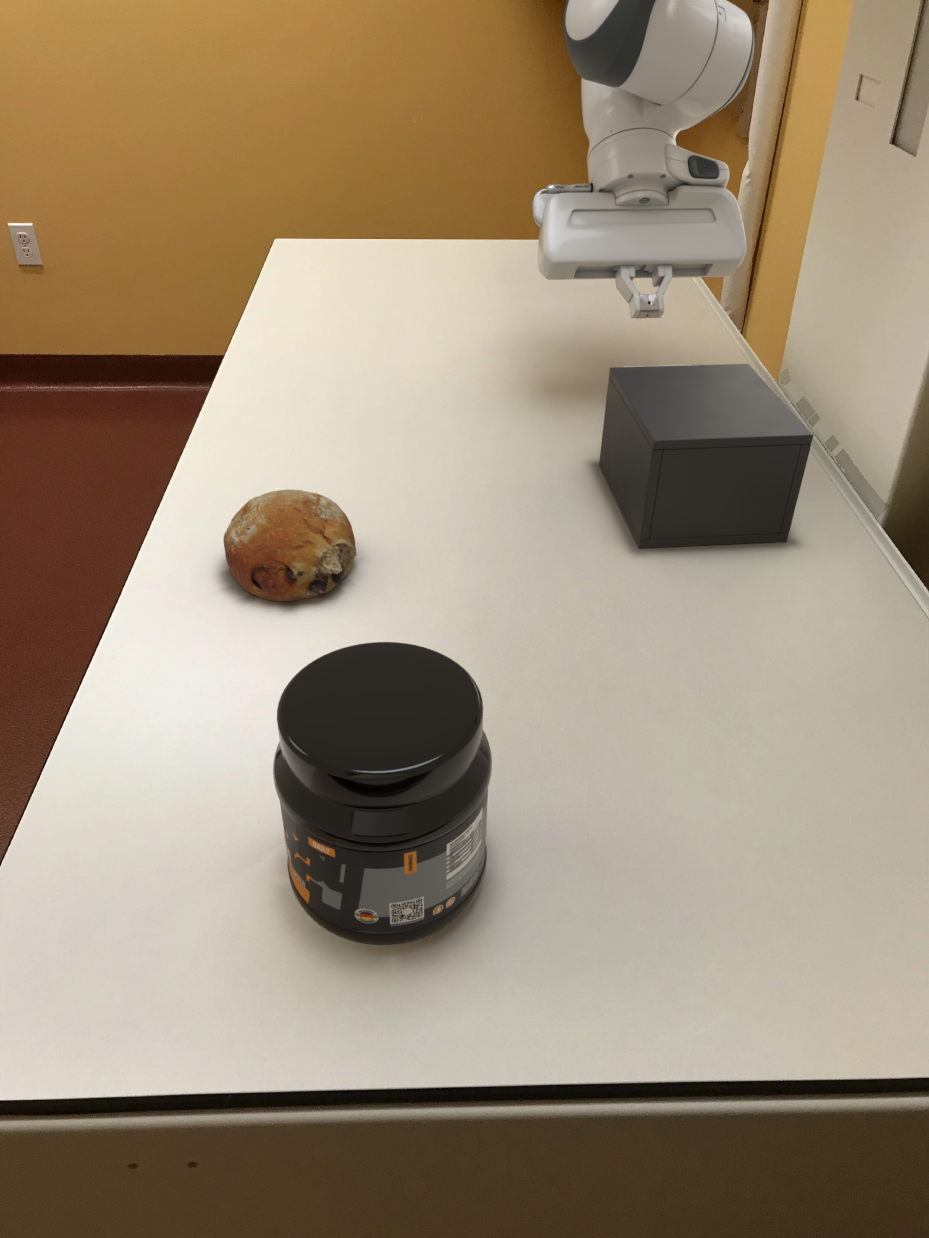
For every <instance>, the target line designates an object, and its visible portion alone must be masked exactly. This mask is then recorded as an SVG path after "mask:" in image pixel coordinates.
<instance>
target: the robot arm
mask: <svg viewBox="0 0 929 1238" xmlns="http://www.w3.org/2000/svg"><path fill="white" fill-rule="evenodd" d="M562 27H563V37H564V41H565V46H566V50H567V53H568V56H569V58H570V61H571V63H572V65H573V68H574V69H575V71H576V73H577V74H578V76H579V77H580V78H581V83H580V86H581V87H580V88H581V90H580V91H581V92H580V93H581V111H582V123H583V129H584V132H585V134H586V136H587V139H588V150H587V154H586V166H587V177H588V183H572V184H571V183H570V184H559V183H550V184H546V186H545V188H542V189H540V190H538V191H537V192H536V193H535V194H534V196H533V198H532V201H531V205H532V215H533V220H534V222H535V224H536V225H537V226H538V227H539V233H538V242H537V243H538V245H537V268H538V272H539V273H540V274H541V275H542V276H543V277H544V278H545V279H546V280H548V281H550V280H551V281H565V280H566V281H567V280H571V281H572V280H615V288H616V290H617V291H618V292H619V293H620V295H621V296H622V298H623V299H624V300H625V302H626V303H627V304H628V305H629V308H628V309H629V317H630V319H661V318H662V316H663V314H664V313H665V301H664V300H665V299H664V295H665V293H666V291H667V289H668V288H669V285H670V283H671V281H672V279H678V278H679V279H680V278H682V279H683V278H685V279H686V278H688V279H689V278H728V277H731V276H732V275H733V274H734V273H735V271H736V270H737V269H739V267H740V266H741V264H742V263H743V261H744V259H745V257H746V256H747V250H748V246H747V237H746V230H745V226H744V220H743V216H742V212H741V208H740V205H739V203H738V200H737V198H736V197H735V195H734V193H732V191H730V190H729V189H727V185H728V182H729V180H730V168H729V166H728V164H727V163H726V162H724V161H722V160H718V159H716V158H711V157H708V156H705V155H702V154H699V153H696V152H693V151H691V150H688V149H686V148H683V147H681V146H680V145H677V140H676V138H677V135H678V134H679V132H685V131H688V130H690V129H693V128H694V127H696V126H698V125H700V124H701V123H702V122H703V123H704V122H705V121H706V120H708V119H710V117H712V116H714V115H715V114H717V113H718V112H720V111H721V110H722V109H724V108H725V107H727V106H728V105H729V104H730V103H731V102H732V101H734V99H736V97H737V96H738V95H739V93H740V92H741V91H742V89H743V87H744V86H745V84H746V82H747V80H748V78H749V75H750V71H751V68H752V66H753V65H752V64H753V59H754V53H755V32H754V25H753V24H752V20H751V17H750V16H749V14H748V12H747V11H745V10H744V9H742V8H740V7H738V6H737V5H735V4H734V3H732V2H731V1H728V0H566V3H565V6H564V12H563V18H562ZM635 279H651V284H652V287H654V288H657V290H656V291H655V293H649V294H648V293H647V294H646V293H641V292H640V291H639V289H638V288H637V286H636V285H635V283H634V282H633V281H634V280H635Z"/></svg>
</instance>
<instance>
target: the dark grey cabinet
mask: <svg viewBox="0 0 929 1238" xmlns="http://www.w3.org/2000/svg"><path fill="white" fill-rule="evenodd" d="M686 365H687V366H656V365H650V366H651V367H623V366H619V367H617V366H616V367H614V366H613V367H610V368H609V369H608V378H607V379H608V381H607V388H606V398H605V407H604V416H603V425H602V436H601V444H600V452H599V453H600V454H599V455H600V456H599V463H598V467H599V469H600V471H601V473H602V474H603V477H604V479H605V481H606V484H607V485H608V487H609V489H610V491H611V494H612V495H613V498H614V500H615V503H616V504H617V506H618V508H619V510H620V513H621V515H622V517H623V519H624V521H625V523H626V525H627V528H628V529H629V531H630V533H631V535H632V538H633V540H634V542H635V544H636V546H637V548H638V549H652V548H677V547H695V546H717V545H719V546H720V545H737V544H739V545H740V544H742V545H743V544H761V543H762V544H763V543H782V542H783V543H784V542H788V539H789V534H790V531H791V527H792V523H793V519H794V516H795V512H796V511H795V510H796V506H797V502H798V499H799V495H800V491H801V487H802V483H803V479H804V475H805V471H806V467H807V464H808V463H807V462H808V459H809V455H810V451H811V447H812V444H813V440H814V439H813V438H814V434H813V433H812V432H811V431H810V430H809V428H808V427H807V426H806V425H805V424H804V423H803V422H802V421H801V420H800V419H799V417H798V416H797V415H796V414H795V413H794V412H793V411H792V409H790V408H789V407H788V406H787V404H785V403H784V401H783V400H782V399H781V398H780V397H779V396H778V395H777V394H776V393H775V391H774V390H773V389H772V388H771V387H770V386H769V385H768V384H767V383H766V382H765V381H764V379H762V377H761V376H760V375H759V374H758V373H757V372H756V371H755V370H754V368H753V367H752V366H751V365H750V364H749V363H733V364H732V363H729V364H726V363H725V364H694V365H693V364H686Z"/></svg>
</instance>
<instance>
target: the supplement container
mask: <svg viewBox="0 0 929 1238" xmlns="http://www.w3.org/2000/svg"><path fill="white" fill-rule="evenodd" d="M276 723H277V731H278V739H279V741H278V744H277V745H276V748H275V752H274V757H273V761H272V764H273V765H272V777H273V785H274V789H275V793H276V795H277V798H278V800H279V805H280V812H281V818H282V826H283V834H284V841H285V848H286V854H287V857H286V859H287V861H286V863H287V865H286V866H287V872H288V879H289V883H290V886H291V889H292V892H293V894H294V896H295V899H296V900H297V902H298V904H299V905H300V907H301V908H302V909H303V911H304V912H305V914H307V915H308V916H309V918H311V920H312V921H314V922H315V923H316V924H317V925H318V926H320V928H322V929H324V930H325V931H327V932H328V933H330V934H333V935H334V936H336V937H338V938H341V939H344V940H347V941H349V942H353V943H357V944H363V945H369V946H396V945H397V946H398V945H405V944H409V943H413V942H416V941H420V940H423V939H425V938H428V937H431V936H433V935H434V934H437V933H438V932H441V931H442V930H444V929H445V928H447V927H448V926H450V925H451V924H453V923H454V922H455V921H456V920H458V918H460V917H461V916H462V915H463V914H464V913H465V911H467V909H468V908H469V907H470V906H471V904H472V903H473V901H474V900H475V898H476V897H477V895H478V893H479V891H480V889H481V887H482V884H483V881H484V878H485V875H486V869H487V862H488V861H487V860H488V850H487V849H488V847H487V827H488V826H487V824H488V823H487V822H488V801H489V799H488V798H489V786H490V782H491V777H492V771H493V770H492V768H493V767H492V766H493V756H492V750H491V745H490V742H489V740H488V739H489V738H488V737H487V734H486V733H485V730H484V702H483V696H482V693H481V690H480V688H479V686H478V684H477V683H476V681H475V679H474V678H473V677H472V676H471V674H470V673H469V671H467V670H466V669H465V668H464V667H463V666H461V664H459V663H458V662H457V661H455V660H454V659H452V658H451V657H449V656H447V655H445V654H444V653H440V652H438V651H436V650H434V649H431V648H428V647H424V646H421V645H417V644H412V643H406V642H396V641H374V642H364V643H358V644H354V645H348V646H344V647H341V648H339V649H336V650H332V651H330V652H327V653H325V654H323V655H321V656H319V657H318V658H316V659H314V660H312V661H311V662H310V663H308V664H306V665H305V666H304V667H302V669H301V668H300V670H299V671H298V672H297V673H296V674H295V675H294V676H293V677H292V678H291V679H290V680H289V681H288V683H287V684H286V685H285V687H284V689H283V691H282V693H281V695H280V697H279V700H278V703H277V708H276Z"/></svg>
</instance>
